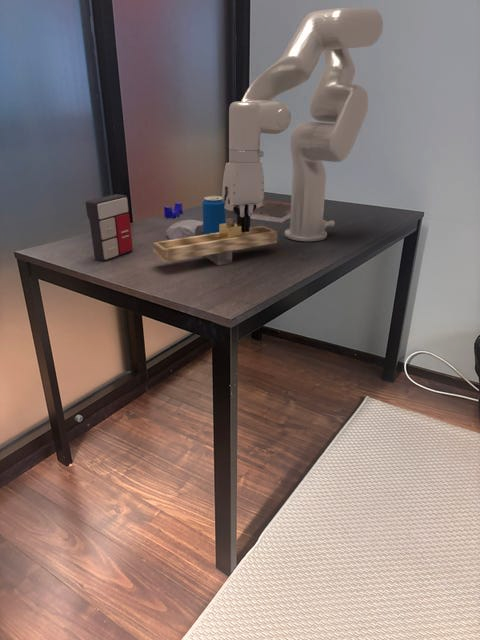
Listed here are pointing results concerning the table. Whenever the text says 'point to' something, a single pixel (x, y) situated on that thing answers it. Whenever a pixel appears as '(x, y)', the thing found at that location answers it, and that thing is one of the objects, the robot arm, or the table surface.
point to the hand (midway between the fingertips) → (243, 230)
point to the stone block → (185, 229)
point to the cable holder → (175, 212)
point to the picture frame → (272, 211)
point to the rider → (229, 229)
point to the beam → (213, 245)
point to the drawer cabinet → (109, 226)
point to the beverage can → (213, 214)
